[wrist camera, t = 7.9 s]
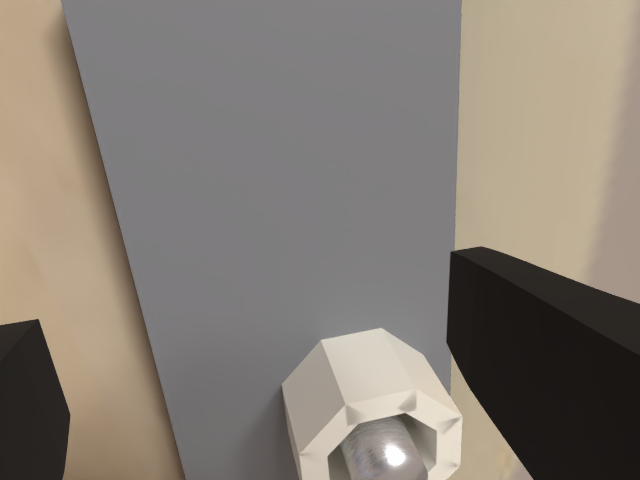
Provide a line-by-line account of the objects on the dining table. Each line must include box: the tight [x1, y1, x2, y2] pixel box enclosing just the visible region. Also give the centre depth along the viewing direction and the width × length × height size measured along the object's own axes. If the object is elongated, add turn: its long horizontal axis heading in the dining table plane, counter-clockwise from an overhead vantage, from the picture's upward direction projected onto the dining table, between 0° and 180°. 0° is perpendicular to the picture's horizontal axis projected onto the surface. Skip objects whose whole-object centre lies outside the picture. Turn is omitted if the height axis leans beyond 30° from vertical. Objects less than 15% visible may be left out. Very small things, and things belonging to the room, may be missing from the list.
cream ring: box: [281, 328, 462, 480], centre depth 21 cm, size 6×6×4 cm
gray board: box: [61, 0, 462, 480], centre depth 20 cm, size 20×11×1 cm, turn 5°
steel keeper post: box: [340, 414, 428, 480], centre depth 20 cm, size 2×2×4 cm
